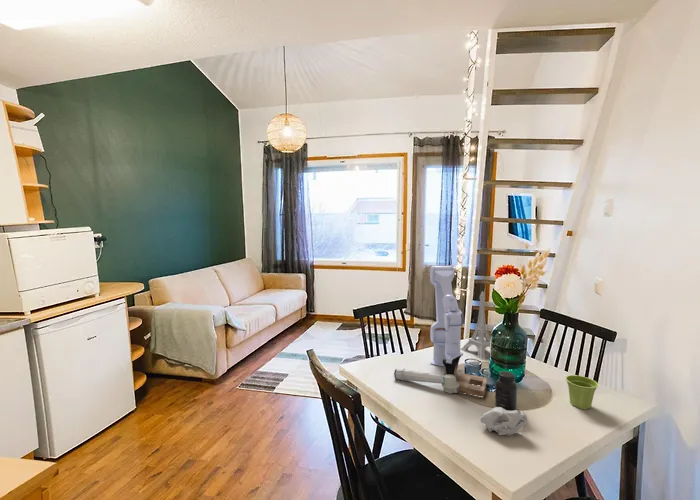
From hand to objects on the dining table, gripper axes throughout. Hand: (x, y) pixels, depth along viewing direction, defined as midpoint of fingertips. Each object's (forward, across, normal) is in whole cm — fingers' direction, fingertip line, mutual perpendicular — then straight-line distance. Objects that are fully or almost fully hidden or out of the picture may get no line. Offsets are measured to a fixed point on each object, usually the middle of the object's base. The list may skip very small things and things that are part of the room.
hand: (452, 374), depth 138 cm
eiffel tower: (+3, +37, -6) cm, 38 cm away
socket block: (+3, -3, -8) cm, 9 cm away
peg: (+3, 0, 0) cm, 3 cm away
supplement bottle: (+3, -12, -20) cm, 24 cm away
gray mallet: (+3, -9, +8) cm, 13 cm away
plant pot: (+3, +2, -44) cm, 44 cm away
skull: (+3, -27, -20) cm, 34 cm away
